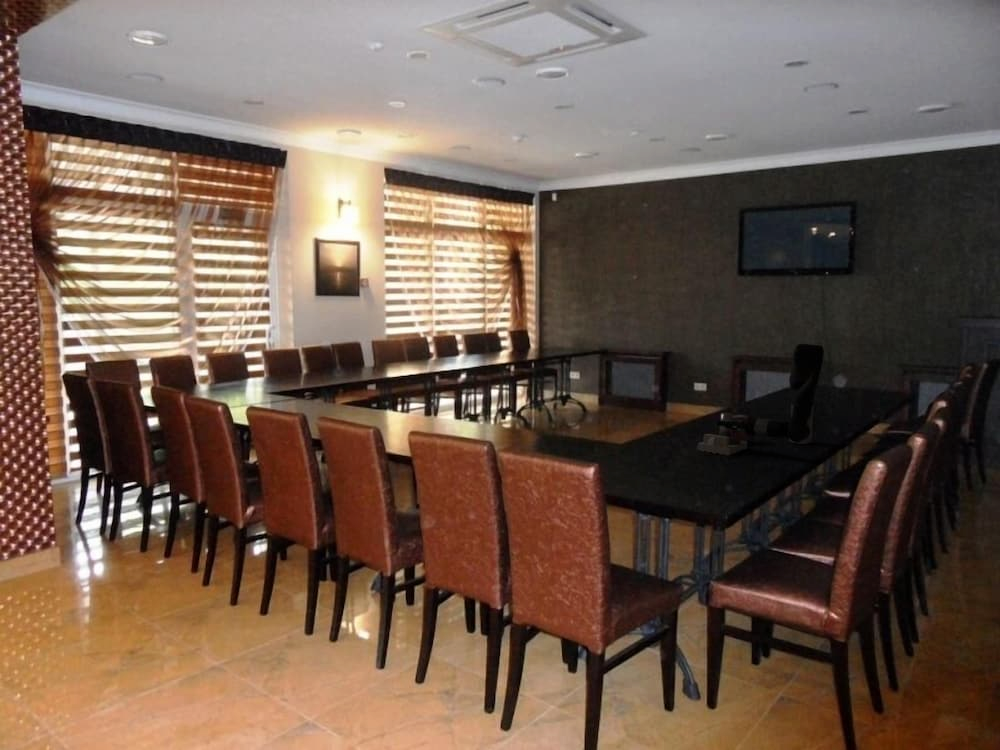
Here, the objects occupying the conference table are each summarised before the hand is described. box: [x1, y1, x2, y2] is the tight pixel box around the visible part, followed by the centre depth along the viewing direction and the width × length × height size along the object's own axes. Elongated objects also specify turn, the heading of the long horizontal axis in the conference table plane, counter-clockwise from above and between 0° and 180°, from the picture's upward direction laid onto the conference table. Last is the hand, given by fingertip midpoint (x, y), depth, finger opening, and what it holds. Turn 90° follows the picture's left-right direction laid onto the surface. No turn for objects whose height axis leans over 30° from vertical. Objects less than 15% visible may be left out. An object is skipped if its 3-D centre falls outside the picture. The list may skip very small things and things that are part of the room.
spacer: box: [718, 412, 733, 438], centre depth 312 cm, size 5×5×10 cm
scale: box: [697, 433, 748, 456], centre depth 311 cm, size 19×14×7 cm
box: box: [731, 414, 749, 443], centre depth 328 cm, size 10×6×12 cm, turn 112°
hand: (720, 422), depth 313 cm, fingers closed on spacer, 5 cm apart
